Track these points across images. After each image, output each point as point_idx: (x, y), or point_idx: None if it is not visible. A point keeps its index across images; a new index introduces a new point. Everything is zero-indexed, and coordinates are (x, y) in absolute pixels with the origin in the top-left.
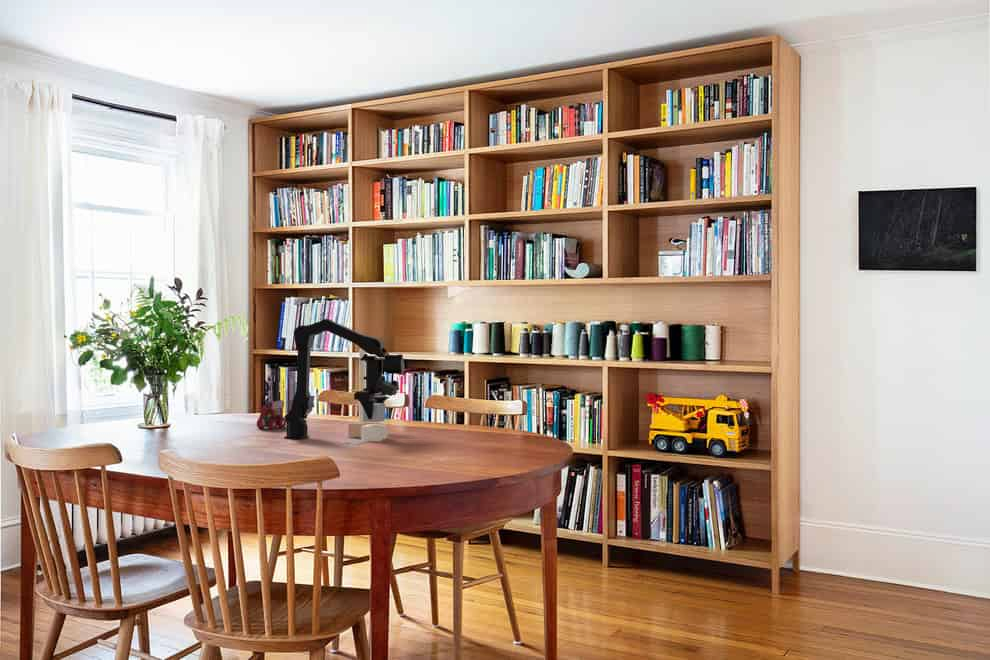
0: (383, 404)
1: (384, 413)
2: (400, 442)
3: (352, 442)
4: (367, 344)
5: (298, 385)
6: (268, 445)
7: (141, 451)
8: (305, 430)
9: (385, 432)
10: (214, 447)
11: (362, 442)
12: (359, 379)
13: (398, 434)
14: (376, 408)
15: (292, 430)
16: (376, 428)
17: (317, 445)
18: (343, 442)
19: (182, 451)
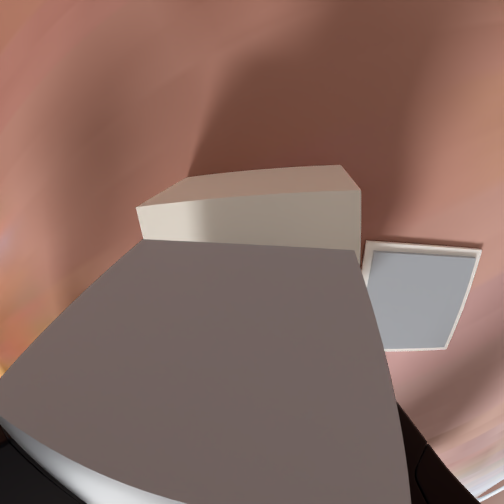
0: (30, 417)
1: (99, 286)
2: (320, 4)
3: (461, 299)
4: None
5: None
6: (463, 461)
7: (481, 499)
8: None
9: (205, 184)
10: (468, 486)
11: (438, 253)
12: None
13: (46, 194)
14: (391, 438)
15: None
16: (358, 227)
17: (487, 388)
18: (444, 343)
19: (496, 482)
